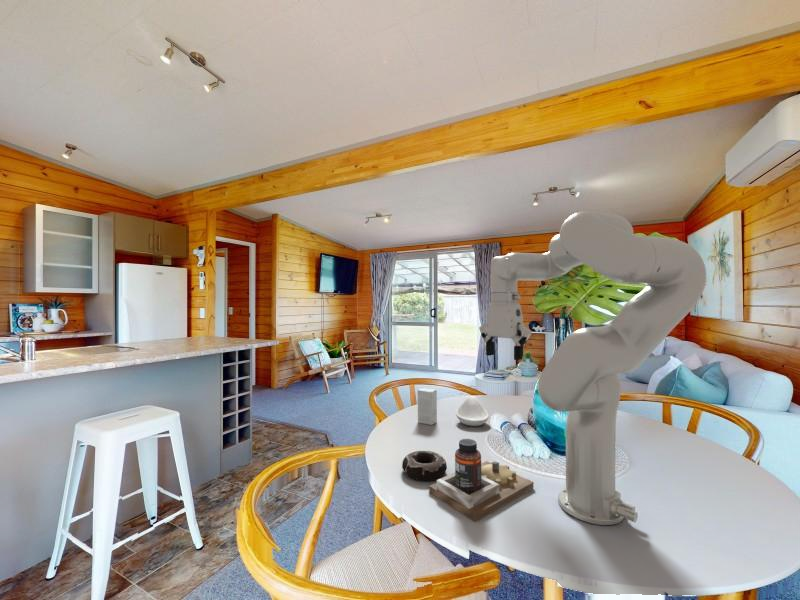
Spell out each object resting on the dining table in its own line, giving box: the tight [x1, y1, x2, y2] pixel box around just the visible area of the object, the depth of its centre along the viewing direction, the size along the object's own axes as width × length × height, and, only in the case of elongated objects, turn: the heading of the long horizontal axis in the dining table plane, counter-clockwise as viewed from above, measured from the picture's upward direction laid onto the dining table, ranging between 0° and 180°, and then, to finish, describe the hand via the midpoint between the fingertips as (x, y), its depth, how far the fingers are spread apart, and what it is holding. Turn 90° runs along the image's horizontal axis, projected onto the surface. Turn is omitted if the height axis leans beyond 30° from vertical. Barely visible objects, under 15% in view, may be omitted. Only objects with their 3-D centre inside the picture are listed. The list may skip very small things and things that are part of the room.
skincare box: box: [417, 387, 438, 426], centre depth 132 cm, size 6×4×12 cm
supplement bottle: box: [454, 438, 482, 495], centre depth 82 cm, size 6×6×11 cm
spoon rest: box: [455, 395, 490, 427], centre depth 136 cm, size 24×12×7 cm, turn 172°
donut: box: [401, 450, 447, 482], centre depth 94 cm, size 12×12×4 cm
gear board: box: [428, 460, 534, 523], centre depth 85 cm, size 14×21×5 cm, turn 127°
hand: (503, 357), depth 104 cm, fingers open, 9 cm apart
